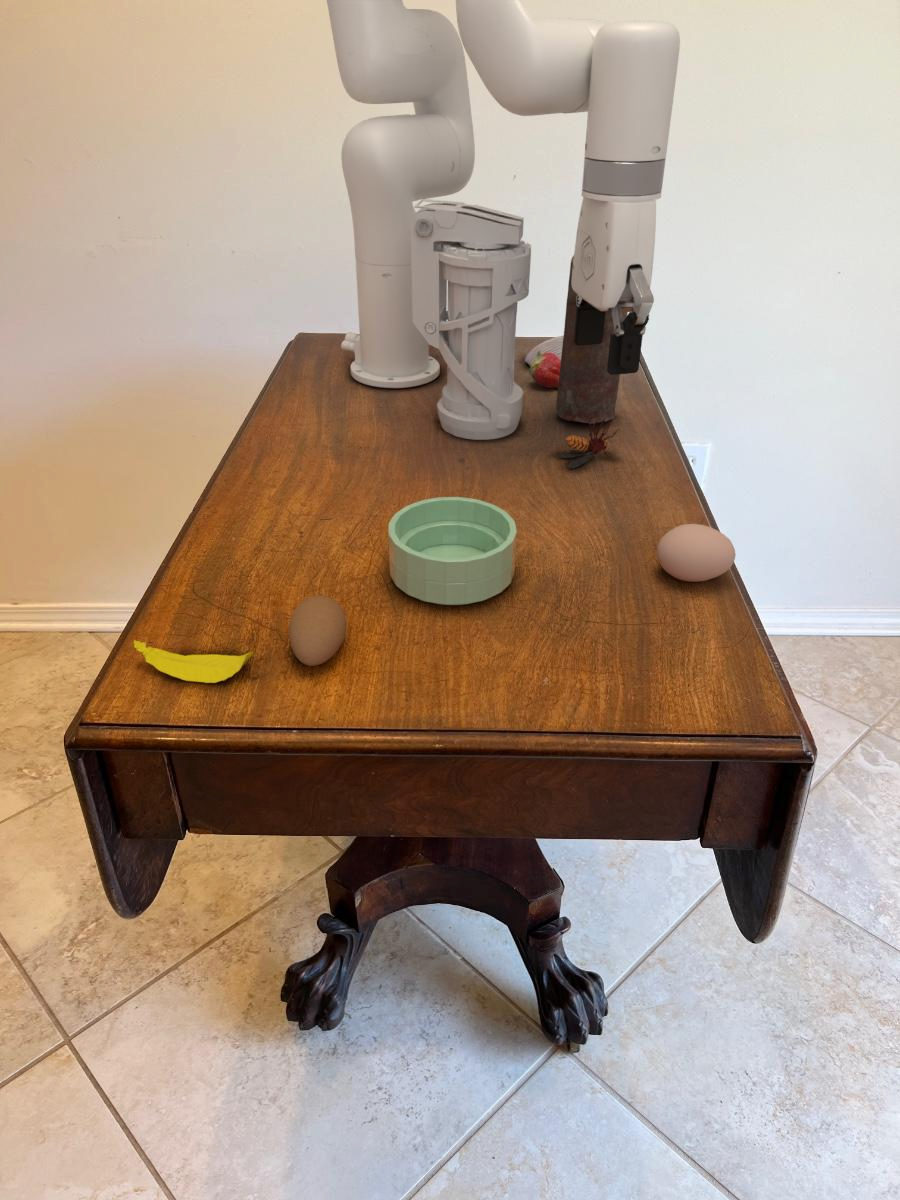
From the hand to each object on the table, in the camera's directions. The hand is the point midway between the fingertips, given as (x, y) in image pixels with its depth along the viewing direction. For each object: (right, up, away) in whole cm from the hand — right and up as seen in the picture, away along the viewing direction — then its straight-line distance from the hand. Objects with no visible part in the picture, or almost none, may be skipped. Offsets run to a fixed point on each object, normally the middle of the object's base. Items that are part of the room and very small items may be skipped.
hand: (604, 357), depth 89 cm
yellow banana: (-37, -28, -23) cm, 52 cm away
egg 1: (-26, -26, -22) cm, 43 cm away
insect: (0, -5, +4) cm, 7 cm away
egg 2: (+2, -21, -14) cm, 25 cm away
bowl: (-16, -23, -13) cm, 31 cm away
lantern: (-14, -4, +16) cm, 21 cm away
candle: (0, -3, +17) cm, 17 cm away
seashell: (0, +9, +33) cm, 35 cm away
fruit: (-3, +4, +26) cm, 27 cm away
